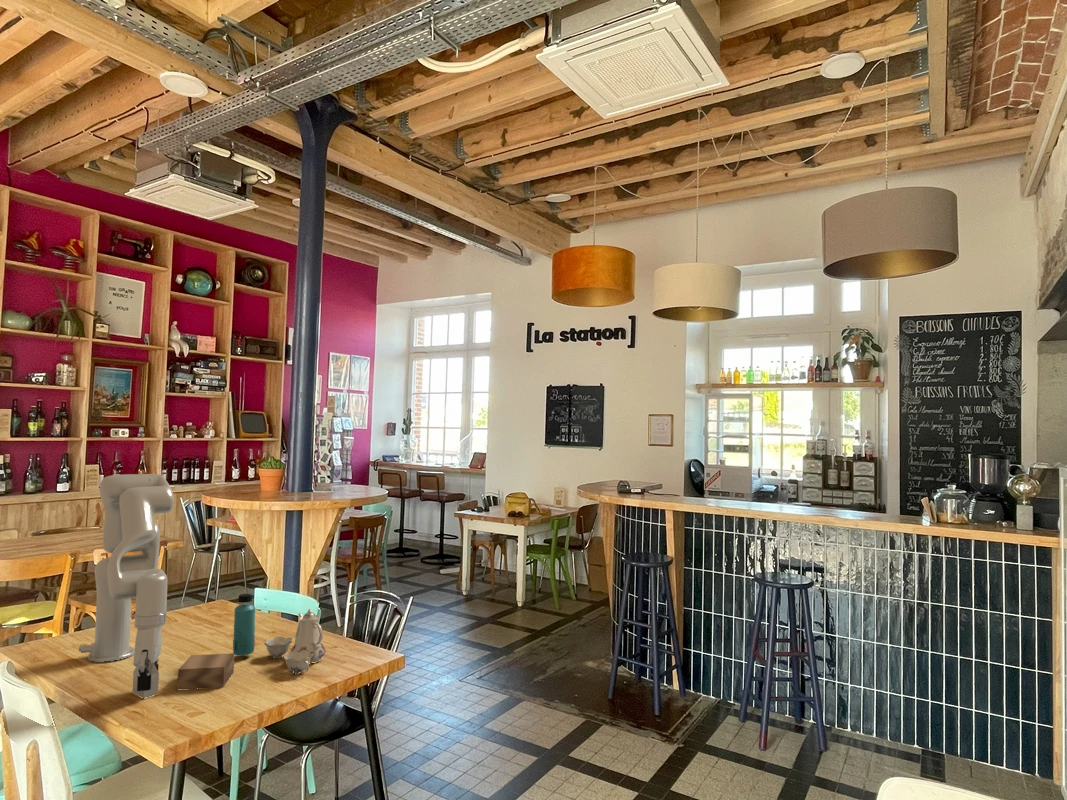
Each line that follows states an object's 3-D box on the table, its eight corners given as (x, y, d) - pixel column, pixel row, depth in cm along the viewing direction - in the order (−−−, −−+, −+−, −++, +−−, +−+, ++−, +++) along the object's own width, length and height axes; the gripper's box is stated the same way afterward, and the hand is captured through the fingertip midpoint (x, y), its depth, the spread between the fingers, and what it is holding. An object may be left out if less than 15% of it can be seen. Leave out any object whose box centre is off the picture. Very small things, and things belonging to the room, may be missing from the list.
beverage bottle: (258, 655, 214) (261, 593, 215) (243, 661, 208) (246, 597, 209) (242, 652, 217) (245, 591, 218) (227, 659, 210) (229, 595, 211)
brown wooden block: (177, 691, 185) (178, 669, 185) (190, 675, 196) (191, 655, 197) (223, 688, 187) (224, 666, 187) (233, 673, 199) (234, 653, 199)
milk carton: (143, 699, 178) (145, 661, 179) (132, 693, 182) (134, 656, 183) (158, 695, 181) (159, 658, 182) (146, 689, 185) (148, 653, 185)
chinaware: (255, 662, 213) (251, 611, 213) (304, 645, 225) (301, 597, 224) (295, 686, 193) (291, 630, 193) (346, 666, 205) (343, 613, 205)
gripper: (143, 612, 190) (140, 675, 189) (126, 629, 173) (123, 698, 172) (172, 610, 192) (169, 672, 191) (158, 627, 176) (155, 695, 175)
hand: (147, 684), depth 182 cm, fingers closed on milk carton, 7 cm apart
